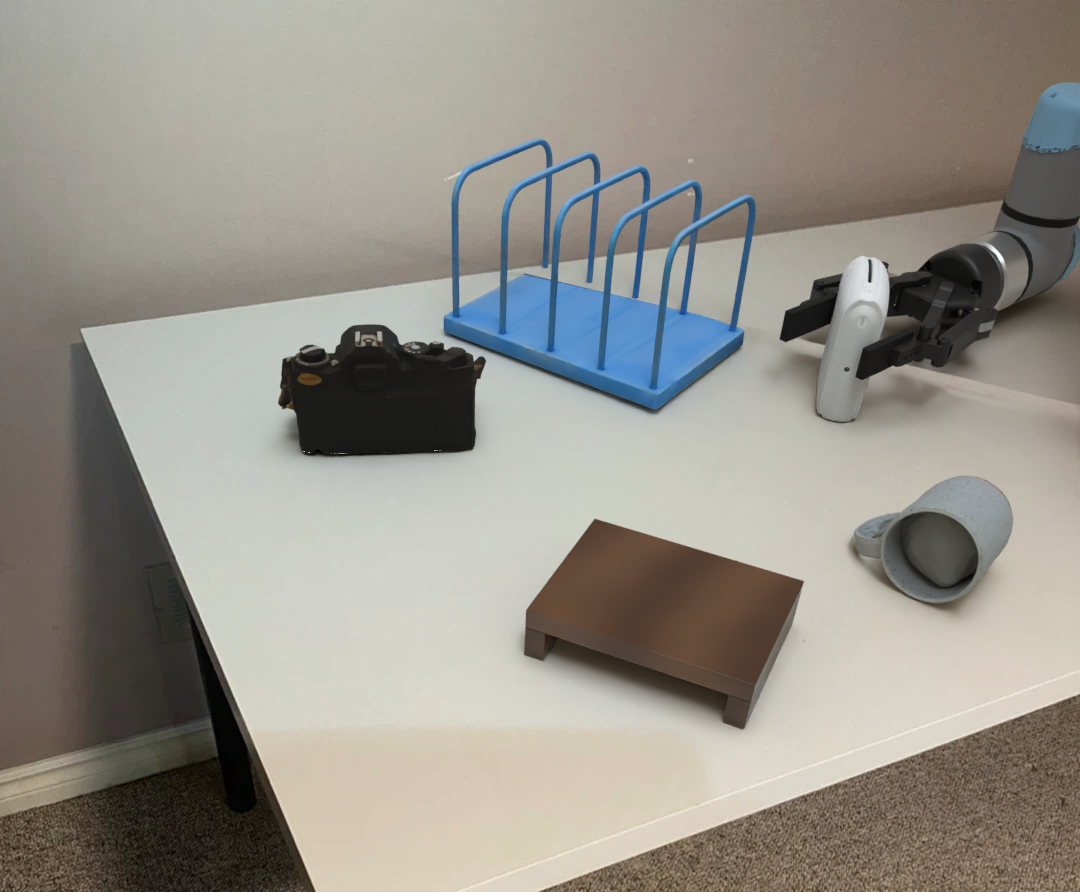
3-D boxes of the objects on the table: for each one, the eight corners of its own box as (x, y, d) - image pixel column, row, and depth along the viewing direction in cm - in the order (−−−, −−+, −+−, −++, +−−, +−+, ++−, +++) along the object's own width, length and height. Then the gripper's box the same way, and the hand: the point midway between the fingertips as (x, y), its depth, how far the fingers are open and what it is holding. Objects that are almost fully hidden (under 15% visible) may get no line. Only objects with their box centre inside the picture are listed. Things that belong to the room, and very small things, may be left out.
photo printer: (859, 426, 98) (896, 294, 90) (812, 419, 99) (844, 287, 90) (861, 374, 106) (895, 247, 97) (817, 368, 106) (847, 241, 97)
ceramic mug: (1001, 568, 84) (1035, 483, 78) (961, 620, 79) (996, 533, 74) (875, 519, 88) (900, 435, 83) (831, 565, 83) (854, 480, 78)
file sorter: (743, 347, 108) (773, 188, 98) (655, 416, 98) (677, 246, 87) (541, 278, 118) (548, 126, 107) (442, 334, 108) (438, 172, 97)
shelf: (792, 624, 78) (804, 580, 75) (743, 729, 70) (755, 685, 67) (590, 561, 82) (594, 518, 80) (523, 654, 75) (525, 609, 72)
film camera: (447, 379, 101) (445, 274, 94) (500, 444, 94) (502, 335, 87) (261, 414, 95) (244, 304, 88) (302, 486, 88) (286, 373, 81)
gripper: (1048, 359, 103) (907, 432, 92) (873, 283, 114) (729, 340, 103) (1079, 282, 98) (934, 350, 87) (893, 210, 109) (743, 262, 98)
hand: (823, 344), depth 95 cm, fingers closed on photo printer, 8 cm apart
